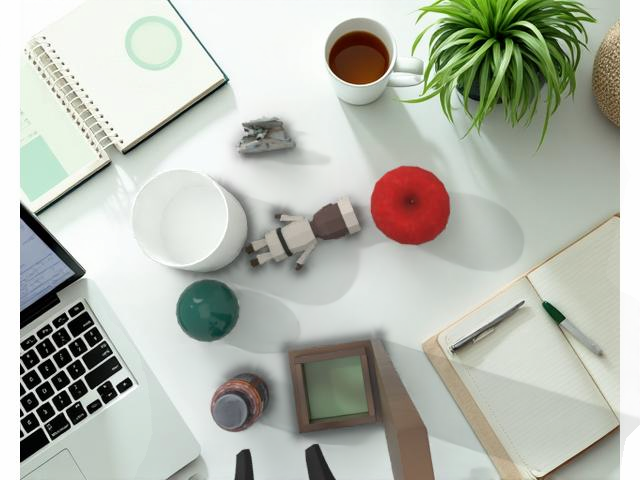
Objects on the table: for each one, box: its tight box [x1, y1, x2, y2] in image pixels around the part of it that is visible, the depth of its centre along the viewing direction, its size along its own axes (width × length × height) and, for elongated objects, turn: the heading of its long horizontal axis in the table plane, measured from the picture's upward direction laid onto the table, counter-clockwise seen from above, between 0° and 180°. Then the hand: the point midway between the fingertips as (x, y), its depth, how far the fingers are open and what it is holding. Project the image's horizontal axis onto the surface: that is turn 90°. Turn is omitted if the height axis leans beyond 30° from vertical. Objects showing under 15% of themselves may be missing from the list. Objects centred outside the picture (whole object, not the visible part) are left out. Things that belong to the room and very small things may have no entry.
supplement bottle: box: [209, 372, 270, 433], centre depth 75 cm, size 6×6×11 cm
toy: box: [243, 195, 362, 272], centre depth 80 cm, size 8×5×15 cm
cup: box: [130, 167, 248, 273], centre depth 77 cm, size 12×12×12 cm
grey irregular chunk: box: [235, 115, 297, 154], centre depth 81 cm, size 4×8×7 cm, turn 97°
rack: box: [287, 337, 436, 480], centre depth 52 cm, size 11×12×57 cm
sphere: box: [175, 278, 241, 343], centre depth 78 cm, size 8×8×8 cm
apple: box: [370, 165, 451, 246], centre depth 77 cm, size 10×10×11 cm
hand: (278, 449), depth 62 cm, fingers open, 7 cm apart
